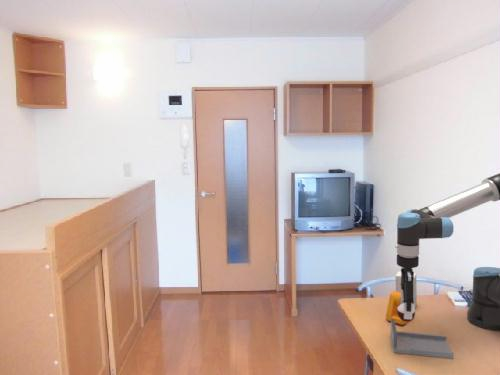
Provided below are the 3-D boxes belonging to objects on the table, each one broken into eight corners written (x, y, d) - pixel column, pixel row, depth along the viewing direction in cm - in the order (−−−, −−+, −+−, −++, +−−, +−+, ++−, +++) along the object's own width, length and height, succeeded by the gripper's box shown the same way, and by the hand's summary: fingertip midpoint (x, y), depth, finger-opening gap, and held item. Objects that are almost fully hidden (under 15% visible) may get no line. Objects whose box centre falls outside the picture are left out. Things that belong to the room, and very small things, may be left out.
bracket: (402, 327, 162) (403, 299, 160) (386, 321, 167) (386, 294, 165) (413, 318, 169) (414, 291, 168) (397, 313, 174) (397, 287, 173)
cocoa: (411, 327, 141) (412, 296, 139) (393, 321, 145) (395, 291, 143) (418, 315, 149) (420, 286, 147) (401, 311, 153) (403, 282, 150)
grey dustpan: (445, 340, 150) (446, 323, 149) (453, 358, 138) (454, 340, 137) (390, 335, 155) (390, 318, 154) (393, 352, 143) (393, 334, 142)
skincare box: (416, 305, 181) (417, 273, 179) (414, 311, 175) (415, 277, 173) (397, 301, 185) (398, 270, 183) (394, 307, 180) (395, 274, 178)
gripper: (394, 246, 155) (393, 299, 158) (400, 264, 134) (398, 325, 137) (414, 246, 153) (412, 301, 156) (423, 265, 132) (421, 327, 135)
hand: (406, 312), depth 146 cm, fingers closed on cocoa, 9 cm apart
